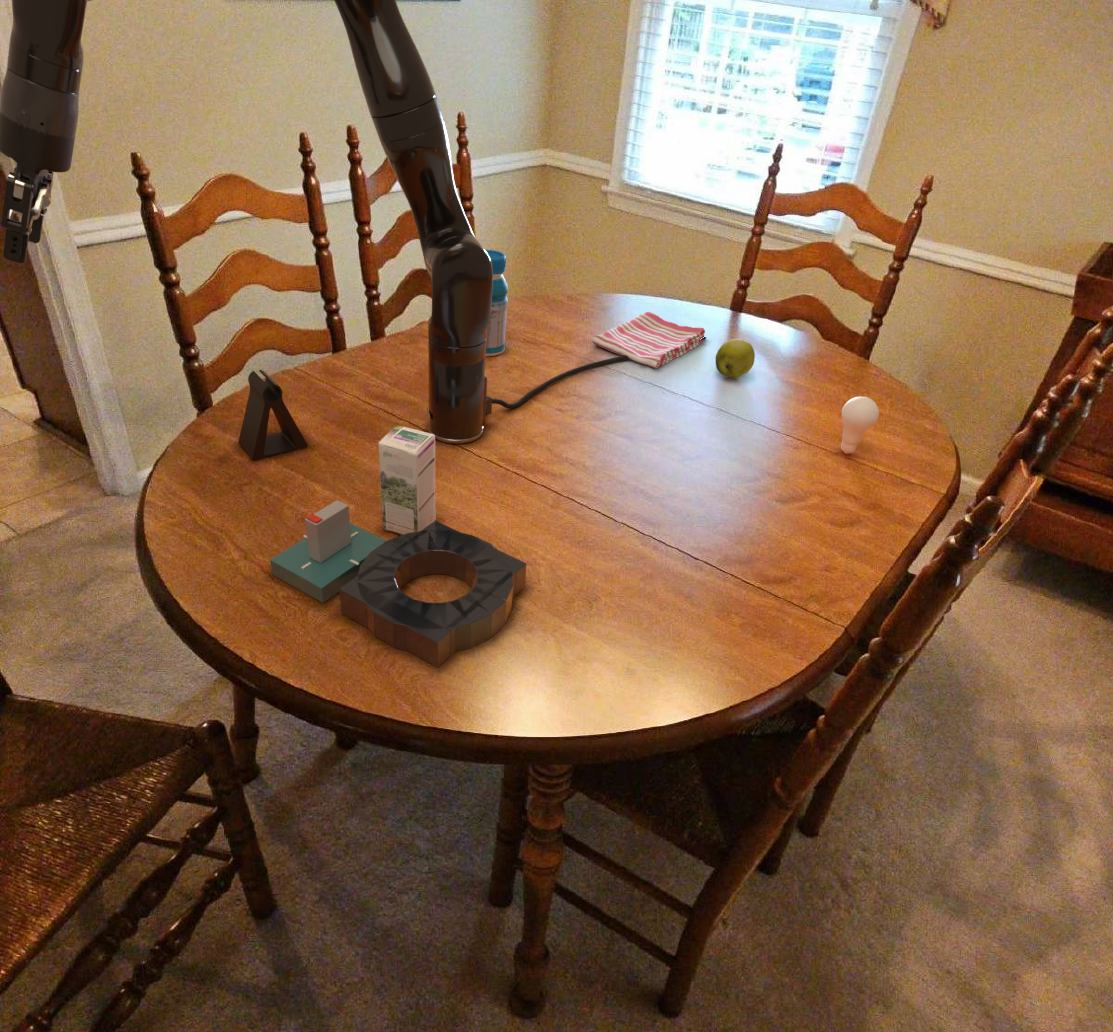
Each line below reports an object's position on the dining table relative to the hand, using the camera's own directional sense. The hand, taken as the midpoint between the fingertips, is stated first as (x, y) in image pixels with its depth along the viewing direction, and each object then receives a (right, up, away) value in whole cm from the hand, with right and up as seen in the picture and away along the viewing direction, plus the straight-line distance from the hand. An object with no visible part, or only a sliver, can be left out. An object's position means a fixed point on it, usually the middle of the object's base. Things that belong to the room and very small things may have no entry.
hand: (22, 250), depth 98 cm
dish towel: (+89, +5, +75) cm, 117 cm away
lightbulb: (+121, -23, +42) cm, 130 cm away
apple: (+105, -4, +65) cm, 124 cm away
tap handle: (+39, -38, +2) cm, 55 cm away
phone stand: (+22, -23, +26) cm, 41 cm away
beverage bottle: (+53, +1, +65) cm, 84 cm away
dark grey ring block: (+53, -44, -1) cm, 69 cm away
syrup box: (+47, -35, +12) cm, 60 cm away
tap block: (+39, -40, +3) cm, 56 cm away
